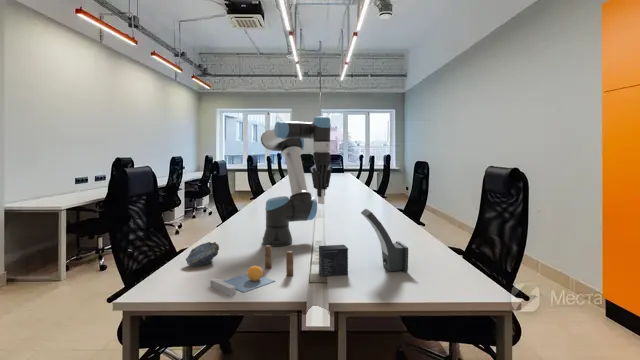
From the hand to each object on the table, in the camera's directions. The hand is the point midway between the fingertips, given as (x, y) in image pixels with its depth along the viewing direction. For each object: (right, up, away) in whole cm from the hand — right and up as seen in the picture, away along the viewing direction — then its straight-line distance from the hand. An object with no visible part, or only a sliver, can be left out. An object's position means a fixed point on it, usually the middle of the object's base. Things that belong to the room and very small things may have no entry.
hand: (321, 203), depth 165 cm
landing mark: (-27, -26, -34) cm, 50 cm away
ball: (-24, -23, -33) cm, 47 cm away
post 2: (-12, -26, -27) cm, 39 cm away
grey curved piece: (+25, -25, -19) cm, 40 cm away
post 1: (-21, -25, -18) cm, 38 cm away
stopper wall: (-34, -27, -41) cm, 60 cm away
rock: (-49, -25, -13) cm, 57 cm away
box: (+5, -26, -24) cm, 35 cm away
